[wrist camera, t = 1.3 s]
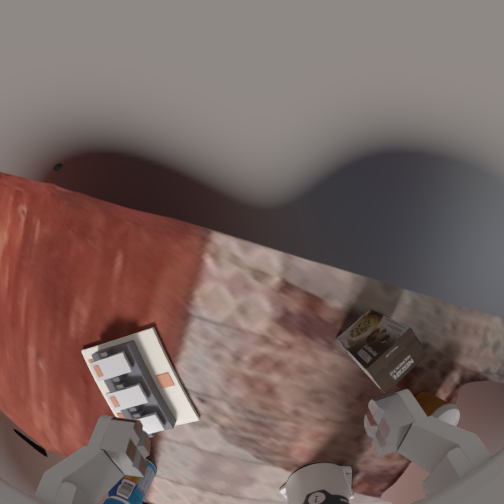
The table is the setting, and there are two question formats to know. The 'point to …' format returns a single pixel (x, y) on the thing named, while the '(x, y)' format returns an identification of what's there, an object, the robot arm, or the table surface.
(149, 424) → the white rectangular block
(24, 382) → the table surface
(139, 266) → the table surface
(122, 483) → the beverage bottle
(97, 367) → the rocker
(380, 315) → the coffee box
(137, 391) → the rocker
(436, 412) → the disposable coffee cup
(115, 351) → the switch unit
